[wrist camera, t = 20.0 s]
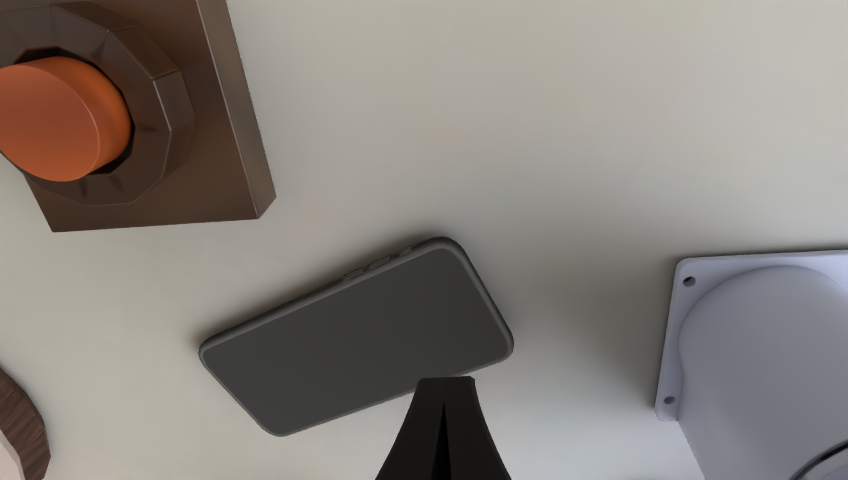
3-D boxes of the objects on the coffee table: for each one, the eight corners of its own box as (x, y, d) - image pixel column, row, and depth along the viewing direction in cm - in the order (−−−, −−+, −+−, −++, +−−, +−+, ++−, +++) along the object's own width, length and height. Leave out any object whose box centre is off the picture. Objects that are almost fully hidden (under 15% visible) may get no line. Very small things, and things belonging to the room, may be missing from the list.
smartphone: (185, 351, 25) (451, 233, 21) (194, 339, 26) (451, 223, 22) (273, 443, 28) (523, 357, 24) (279, 430, 29) (522, 344, 25)
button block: (277, 197, 22) (242, 241, 18) (86, 211, 23) (18, 255, 19) (208, -71, 17) (142, -82, 14) (-28, -40, 18) (-145, -42, 15)
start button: (147, 159, 18) (117, 177, 16) (53, 167, 18) (14, 185, 16) (106, 50, 16) (68, 59, 14) (3, 61, 16) (-45, 71, 15)
